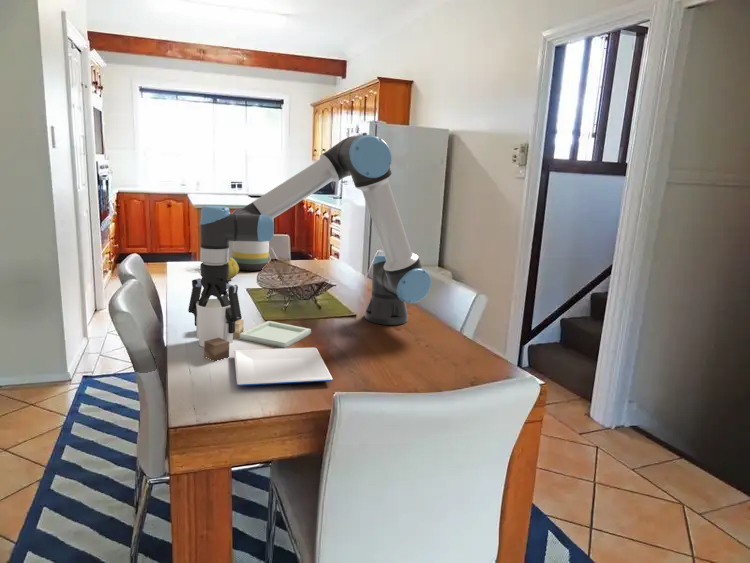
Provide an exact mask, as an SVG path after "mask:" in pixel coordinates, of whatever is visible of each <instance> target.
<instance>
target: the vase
mask: <svg viewBox="0 0 750 563" xmlns="http://www.w3.org/2000/svg"><path fill="white" fill-rule="evenodd" d="M231 248H232V253H231V254H232V256H231V258H233V259H234V260H235V261H236V262H237V264H238V266H239V270H241V271H248V272H249V271H252V272H254V271H262V270H263V269H262V268H263V267H264V266H265V265H266V264H267V265H268V264H269V259H270V258H269V255H270V241H265V242H249V241H232V247H231ZM261 269H262V270H261Z"/></svg>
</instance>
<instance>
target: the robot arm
mask: <svg viewBox="0 0 750 563" xmlns="http://www.w3.org/2000/svg"><path fill="white" fill-rule="evenodd" d="M389 146H390V145H388V144H387V142H386V141H384V140H383V138H380V137H378V136H375V135H371V134H363V135H352V136H347V137H346V138H343V139H342V140H340V141H339V142H338V143H337V144H335V145H334V146H332V147H331V148H329V149H328V150H327V151H325V152H323V153H321V154H320V156H319V159H318V160H317V161H315V162H314V163H312V164H311V165H309V166H307V167H306V168H305V169H302V170H301V171H300V172H298V173H297V174H294V175H293V176H292V177H290V178H288V179H287V180H285V181H284V182H282V183H281V184H279V185H277V186H276V187H274V188H272V189H271V190H269V191H268V192H266V193H265V194H263V195H261V196H259V197H258V198H257V199H254V200H253V201H252V202H251V203H249V204H247V205H245V206H243V207H242V208H237V209H234V211H232V212H230V208H229V207H228V206H225V205H224V206H223V205H204V206H202V208H201V209H200V221H199V225H200V226H199V229H200V231H199V232H200V234H199V235H200V244H199V245H200V251H199V253H200V254H199V256H200V258H199V260H200V262H201V263H200V265H199V266H200V269H199V270H200V276H201V278H195V279H192V280H191V286H192V289H191V296H190V299H189V303H188V304H189V305H188V309H187V310H188V313H191V314H193V316H194V326H195V328H196V335H195V336H196V339H197V340H199V337H198V323H197V308H196V303H197V302H198V301H199V306H202V307H205V306H206V304H207V302H208V300H209V299H211V296H213V297H216V299H218V300H219V301H220V304H221V306H222V307H226V306H229V305H230V308H226V312H225V316H226V319H227V322H225V340H226V341H229V345H230V344H232V343H234V341H233V340H234V338H233V333H234V332H235V321H238V320H240V319H241V320H242V312H241V307H240V301H239V296H238V295H239V294H238V290H239V287H238V284H230V283H229V280H228V276H229V264H228V263H227V262H228V261H229V257H230V242H233V241H249V242H265V241H269V242H271V241H272V240H273V238H274V234H275V233H274V232H275V223H274V219H275V218H277V217H278V216H280V215H281V214H283V213H285V212H286V211H288V210H289V209H291V208H292V207H294V206H296V205H297V204H299V203H300V202H302V201H303V200H306V198H308V197H309V196H311V195H313V194H314V193H316V192H318V191H319V190H320V189H322V188H324V187H325V186H326V185H329V184H330V183H331V182H334V183H337V182H340V180H342V179H344V178H347V177H349V176H351V178H352V182H353V184H354V187H355V188H356V189H357V190H360V191H361V192H362V195H363V198H364V200H365V203H366V206H367V209H368V212H369V214H370V217H371V218H370V219H371V221H372V224H373V226H374V229H375V232H376V235H377V238H378V241H379V243H380V247H381V250H382V253H383V254H377V255H375V256H374V258H373V263H372V281H371V294H370V295H371V296H370V299H369V301H368V304H367V307H366V308H365V312H364V318H365V320H366V321H368V322H370V323H374V324H378V325H379V324H380V325H385V326H387V325H388V326H398V325H403V324H405V323H407V322H408V318H409V314H408V309H407V305H406V303H409V304H416V303H419V302H421V301H422V300H424V299H425V298H426V297H427V296H428V295H429V291H430V290H431V288H432V278H431V275H430V274H429V272H428V271H427V270H426V269H424V268H423V267H422V263H421V261H420V257H419V255H418V254H416V253H414V252H413V251H412V248H411V246H410V242H409V238H408V237H407V233H406V230H405V227H404V224H403V221H402V218H401V215H400V212H399V208H398V206H397V203H396V198H395V196H394V193H393V190H392V187H391V184H390V179H391V178H392V176H393V173H392V171H391V168H390V167H391V164H392V162H393V161H392V160H393V158H392V156H393V155H392V152H391V149H390V147H389ZM202 288H203V289H202Z"/></svg>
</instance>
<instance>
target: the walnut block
mask: <svg viewBox="0 0 750 563" xmlns="http://www.w3.org/2000/svg"><path fill="white" fill-rule="evenodd" d="M203 351H204V354H203V356H204V358H205V357H207V358H206V359H208V358H209V359H208V360H210V359H211V360H210V361H212V360H214V361H216V362H218V361H217V360H219V361H222V360H225V359H224V358H226V359H228V357H229V358H230V344H229V341H226V340H224V339H221V338H215V339H211V340H207V341H204V347H203ZM221 359H222V360H221ZM214 361H213V362H214Z"/></svg>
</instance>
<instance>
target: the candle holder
mask: <svg viewBox="0 0 750 563" xmlns="http://www.w3.org/2000/svg"><path fill="white" fill-rule="evenodd" d="M196 308H197V323H198V337H199V339H198V344H199V346H202V348H204V341H207V340H211V339H215V338H221V339H224V340H225V322H227V319H226V316H225V312H226V308H230V305H229V306H226V307H222V306H221V304H220V301H219V300H218V299H217V298H209V300H208V302H207V304H206V306H205V307H202V306H199V301H198V302H197V303H196Z"/></svg>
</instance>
